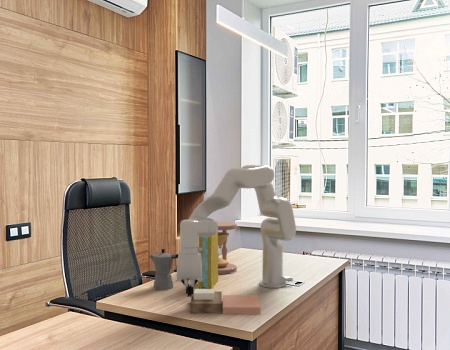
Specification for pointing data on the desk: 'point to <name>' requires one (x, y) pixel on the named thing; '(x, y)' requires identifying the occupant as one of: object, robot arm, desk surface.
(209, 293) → the tile
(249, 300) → the mat
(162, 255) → the coffeepot
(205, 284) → the book
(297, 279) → the desk surface
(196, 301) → the deck
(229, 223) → the hourglass
